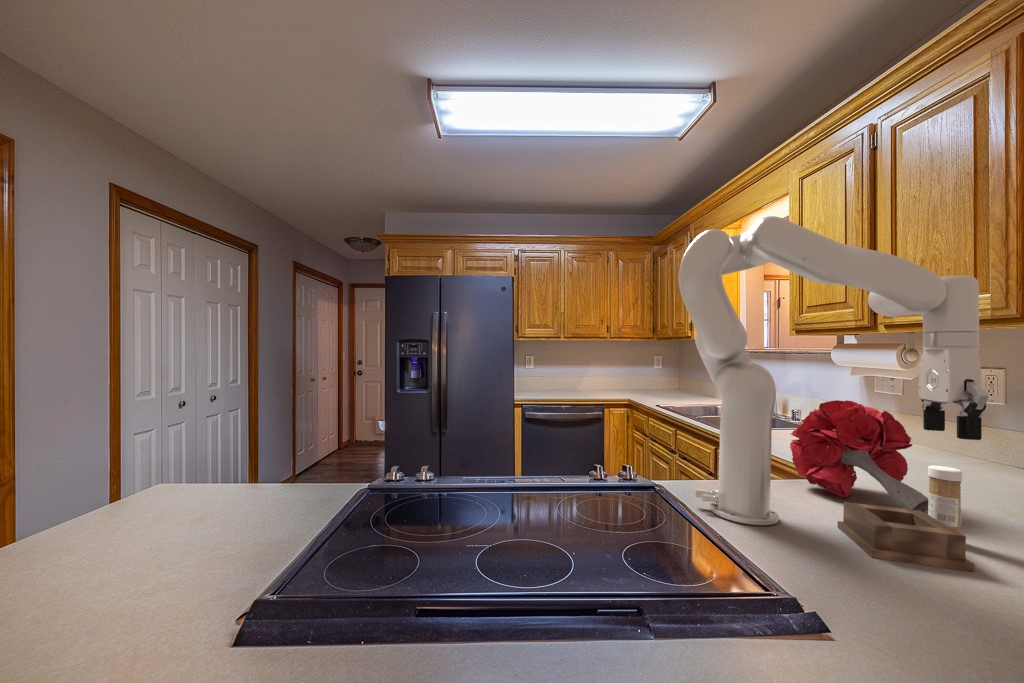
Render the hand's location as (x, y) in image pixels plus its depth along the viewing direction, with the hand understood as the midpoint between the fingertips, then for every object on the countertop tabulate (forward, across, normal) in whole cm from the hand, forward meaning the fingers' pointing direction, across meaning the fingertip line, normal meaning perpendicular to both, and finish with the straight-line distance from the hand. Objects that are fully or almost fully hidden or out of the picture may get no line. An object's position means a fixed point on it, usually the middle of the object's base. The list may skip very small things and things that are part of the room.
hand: (950, 434), depth 83 cm
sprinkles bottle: (+20, 0, -1) cm, 20 cm away
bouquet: (+20, -24, -6) cm, 32 cm away
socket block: (+20, +7, -11) cm, 24 cm away
